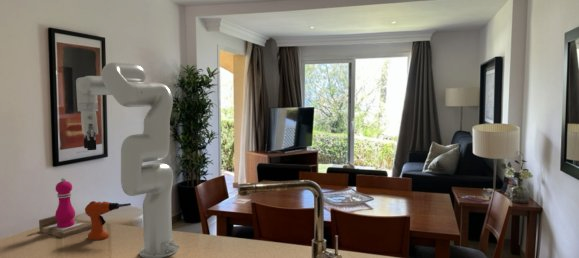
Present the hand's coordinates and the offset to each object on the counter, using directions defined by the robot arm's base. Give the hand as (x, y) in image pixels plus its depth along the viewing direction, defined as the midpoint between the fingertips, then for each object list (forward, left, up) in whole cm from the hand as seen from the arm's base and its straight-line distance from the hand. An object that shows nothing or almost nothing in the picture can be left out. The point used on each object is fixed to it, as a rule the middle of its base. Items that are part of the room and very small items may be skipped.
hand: (90, 149), depth 166 cm
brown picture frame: (+8, +7, -33) cm, 35 cm away
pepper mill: (+7, +7, -32) cm, 33 cm away
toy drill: (-16, +5, -34) cm, 38 cm away
